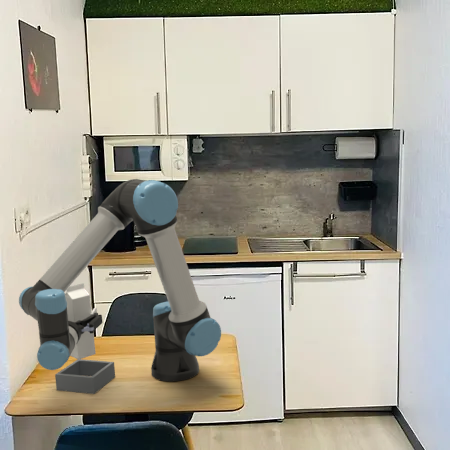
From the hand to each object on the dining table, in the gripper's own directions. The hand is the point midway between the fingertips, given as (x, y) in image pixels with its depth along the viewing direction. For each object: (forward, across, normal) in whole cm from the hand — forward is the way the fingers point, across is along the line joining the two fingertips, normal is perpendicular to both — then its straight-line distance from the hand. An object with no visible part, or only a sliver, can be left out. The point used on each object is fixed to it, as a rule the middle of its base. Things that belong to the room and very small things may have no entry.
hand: (81, 313), depth 193 cm
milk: (-4, 0, -12) cm, 13 cm away
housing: (-4, 0, -22) cm, 22 cm away
